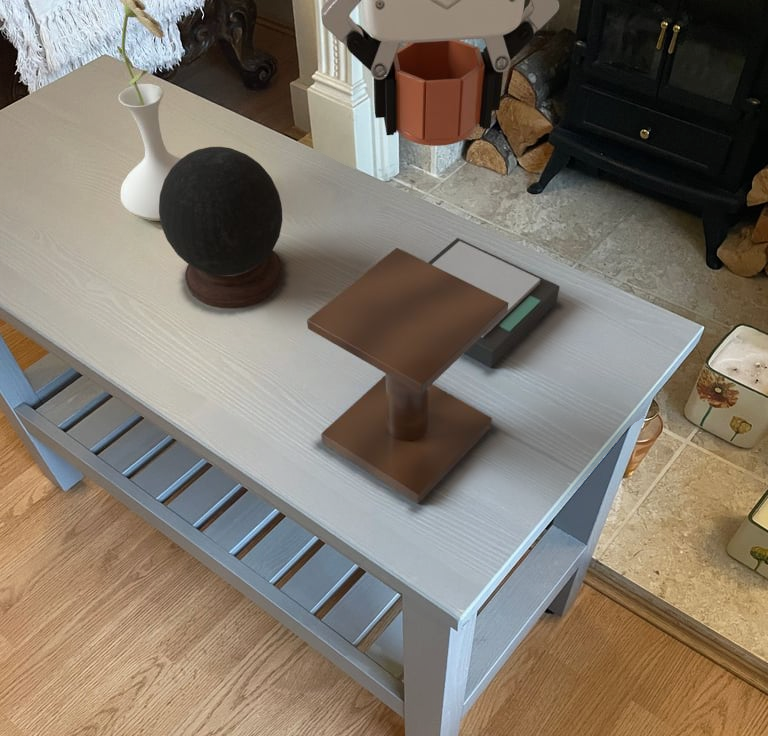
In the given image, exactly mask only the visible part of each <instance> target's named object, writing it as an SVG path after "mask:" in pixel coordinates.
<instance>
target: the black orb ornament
mask: <svg viewBox="0 0 768 736" xmlns="http://www.w3.org/2000/svg"><path fill="white" fill-rule="evenodd" d="M181 158H182V159H181V160H179V161H178V162H177V163H176V164H175V165H174V166H173V167H172V168H171V170H170V171H169V173H168V175H167V176H166V178H165V180H164V183H163V186H162V189H161V192H160V198H159V216H160V222H159V223H160V225H161V228H162V231H163V234H164V236H165V238H166V241H167V242H168V244H169V245H170V246H171V248H172V249H173V251H174V252H175V253H176V255H177V256H178V257H179V258H181V259H182V260H183V261H184V262H185V263H187V266H186V269H185V275H184V276H185V282H186V286H187V289H188V291H189V292H190V294H191V295H192V296H193V297H194V298H195V299H196V300H197V301H199V302H201V303H203V304H205V305H208V306H210V307H215V308H221V309H236V308H237V309H238V308H244V307H248V306H251V305H254V304H256V303H259V302H261V301H263V300H264V299H266V298H268V297H269V296H270V295H271V294H273V293H274V292H275V291H276V290H277V288H279V286H280V284H281V281H282V278H283V267H282V261H281V259H280V256H278V254H277V253H276V251H274V249H275V246H276V244H277V242H278V241H279V238H280V237H281V230H282V225H283V205H282V201H281V197H280V193H279V190H278V189H277V186H276V184H275V183H274V180H273V178H272V176H271V175H270V174H269V173H268V171H267V170H266V169H265V168H264V167H263V166H262V165H261V164H260V163H259V162H258V161H256V160H255V159H254V158H253V157H251V156H250V155H248V154H246V153H244V152H242V151H239V150H237V149H234V148H231V147H227V146H208V147H204V148H198V149H195V150H193V151H191V152H189V153H187V154H186V155H184V156H183V157H181Z"/></svg>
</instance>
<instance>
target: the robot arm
mask: <svg viewBox="0 0 768 736" xmlns="http://www.w3.org/2000/svg"><path fill="white" fill-rule="evenodd" d="M525 1H526V0H327V1H326V2H325V3H324V5H323V6H322V8H321V11H320V13H321V21H322V25H323V27H324V28H325V29H326V30H328V32H330V34H332V35H333V36H334V37H335V38H336V39H337V40H339V42H340V43H342V44H343V45H344V46H345V47H346V48H347V50H348V51H349V52H350V54H352V55H353V57H355V59H357V60H358V61H359V62H360V63H361V64H362V65H363V66H364V67H365V68H366V69H368V70H369V71H370V74H371V76H372V77H373V104H374V105H373V108H374V116H375V119H381V118H383V121H384V127H385V134H386V136H395V134H396V133H398V132H397V115H396V79H395V75H394V69H393V64H392V63H393V60H394V57H395V55H396V52H397V50H398V49H399V47H400V45H401V44H408V43H418V42H436V41H452V40H460V41H465V40H466V41H467V40H480V39H483V40H484V44H485V47H484V48H483V51H480V52H481V55H482V58H483V61H484V64H485V68H484V80H483V92H482V105H481V117H480V122H479V124H478V127H479V128H482V130H491V127H492V116H493V112H494V111H499V110H500V108H501V98H502V89H503V80H504V79H503V78H504V72H506V71H507V70H508V69H509V68H510V66H511V61H512V60H513V59H514V58H515V57H516V56H517V55H518V54H519V53H520V52H521V51H522V50H523V49H524V48H525V47H526V46H527V45H528V44H529V43H530V42H531V41H532V40H533V38H534V37H535V36H534V35H535V34H536V32H538V31H540V30H541V29H542V28H543V27H544V26H545V25H546V24H547V23H548V22H549V21H550V20H552V17H554V16H555V15H556V14H557V13H558V11H559V10H560V9H559V8H560V2H559V0H529V3H528V4H527V6H526V7H525ZM361 2H362V8H363V16H364V21H365V25H366V28H367V31H368V32H367V31H366V30H365V29H364V27H362V26H361V25H360V24H358V23H356V22H355V21H354V20H353V18H352V17H351V16H350V15H351V13H352V12H353V11H354V10H355V9H356V7H357V6H358V5H359V4H360V3H361Z"/></svg>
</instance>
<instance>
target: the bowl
mask: <svg viewBox="0 0 768 736" xmlns="http://www.w3.org/2000/svg"><path fill="white" fill-rule="evenodd" d="M481 52H482V51H481V49H480V48H479V47H478V46H477V45H473V44H471V43H468V42H465V41H464V40H452V41H436V42H418V43H405V44H404V45H403V46H402V47H400V48H398V50H397V52H396V55H395V57H394V60H393V63H392V64H393V69H394V75H395V79H396V115H397V132H396V133H398V134H399V135H400V136H401V137H402V138H404V139H406V140H407V141H409V142H411V143H415V144H418V145H423V146H428V147H429V146H431V147H442V146H449V145H453V144H457V143H460V142H462V141H464V140H467V139H468V138H470V137H471V136H472V135H473V134H474V133H475V132H476V130H477V128H478V126H479V122H480V117H481V105H482V92H483V80H484V68H485V64H484V61H483V58H482V55H481Z"/></svg>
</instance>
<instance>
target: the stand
mask: <svg viewBox="0 0 768 736" xmlns="http://www.w3.org/2000/svg"><path fill="white" fill-rule="evenodd" d="M508 304H509V303H508V302H506V301H504V300H502V299H500V298H498V297H496V296H494V295H492V294H490V293H488V292H486V291H484V290H482V289H480V288H478V287H476V286H474V285H472V284H470V283H468V282H466V281H464V280H462V279H460V278H457V277H455V276H453V275H451V274H449V273H447V272H445V271H443V270H441V269H439V268H437V267H435V266H433V265H431V264H429V263H428V262H427V261H426V260H423V259H422V258H419V257H417V256H415V255H413V254H411V253H409V252H407V251H405V250H403V249H401V248H399V247H395V248H393V250H392V251H390V252H389V253H388V254H387V255H385V256H384V257H383V258H382V259H380V260H379V261H378V262H377V263H376V264H374V265H372V267H370V268H369V269H368V270H367V271H366V272H363V274H362V275H361V276H359V277H358V278H357V279H355V280H354V281H353V282H352V283H351V284H349V285H348V286H346V288H344V289H343V290H342V291H340V293H338V294H337V295H335V297H333V298H332V299H331V300H330V301H329V302H327V303H326V304H325V305H323V306H322V307H321V308H320V309H318V310H317V311H316V312H315V313H314V314H312V315H311V316H310V317H308V318H307V319H306V325H307V329H308V330H309V331H312V333H314V334H316V335H318V336H320V337H321V338H323V339H325V340H327V341H329V342H330V343H332V344H334V345H335V346H337V347H339V348H341V349H343V350H344V351H346V352H348V353H349V354H351V355H353V356H354V357H356V358H359V359H360V360H361V361H364V362H365V363H367V364H369V365H370V366H372V367H374V368H376V369H378V370H379V371H381V372H382V373H384V374H385V375H384V376H383V377H382V378H381V379H379V380H378V381H377V382H376V383H375V384H374V385H373V386H372V387H371V388H369V390H367V391H366V392H365V393H364V394H363V395H362V396H361V397H360V398H358V399H357V400H356V401H355V402H354V403H353V404H352V405H351V406H350V407H349V408H348V409H346V410H345V412H343V413H342V414H341V415H340V416H339V417H337V419H336V420H335V421H333V422H332V423H331V424H330V425H329V426H327V428H325V429H324V430H323V431H322V432H321V433H320V436H321V443H322V445H324V446H325V447H327V448H329V449H331V451H333V452H335V453H337V454H338V455H340V456H342V457H343V458H344V459H346V460H348V461H349V462H351V463H352V464H354V465H355V466H357V467H359V468H360V469H362V470H364V471H365V472H367V473H368V474H369V475H371V476H373V477H375V478H376V479H377V480H379V481H380V482H382V483H383V484H385V485H387V486H388V487H390V488H391V489H393V490H395V491H396V492H397V493H399V494H401V495H403V496H404V497H406V498H407V499H409V500H411V501H412V502H413V503H415V504H417V505H418V504H420V503H421V502H422V501H423V500H424V499H425V498H426V496H428V495H429V494H430V493H431V491H432V490H433V489H434V488H435V487H436V486H437V485H438V484H439V483H440V482H441V481H442V480H443V478H445V477H446V476H447V475H448V473H449V472H450V471H451V470H452V469H453V468H454V467H455V466H456V465H457V464H458V463H459V462H460V461H461V460H462V459H463V458H464V456H465V455H466V454H467V453H468V452H470V451H471V449H472V448H473V447H474V446H475V445H476V444H477V443H478V442H479V441H480V439H482V438H483V436H485V435H486V434H487V432H488V431H489V430H490V429H491V428H492V421H493V418H492V417H491V416H489V415H488V414H486V413H484V412H482V411H481V410H479V409H477V408H475V407H474V406H472V405H470V404H468V403H466V402H465V401H463V400H460V399H459V398H457V397H456V396H454V395H452V394H450V393H449V392H447V391H445V390H443V389H442V388H439V387H438V386H436V385H434V383H435V382H436V381H437V380H438V379H439V378H440V377H441V376H442V375H444V373H445V372H446V371H447V370H448V369H449V368H451V366H452V365H454V363H455V362H457V361H458V360H460V358H461V357H462V356H463V355H464V353H465V352H466V351H467V350H468V349H469V348H470V347H471V346H472V345H473V344H474V343H475V342H476V341H477V340H478V339H479V338H480V337H482V336H483V335H484V334H485V333H486V332H487V331H488V330H489V329H490V328H491V327H492V326H493V325H494V324H495V323H496V322H497V321H498V320H499V319H500V318H501V317H502V316H503V315H505V314H506V313H507V311H508Z"/></svg>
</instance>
